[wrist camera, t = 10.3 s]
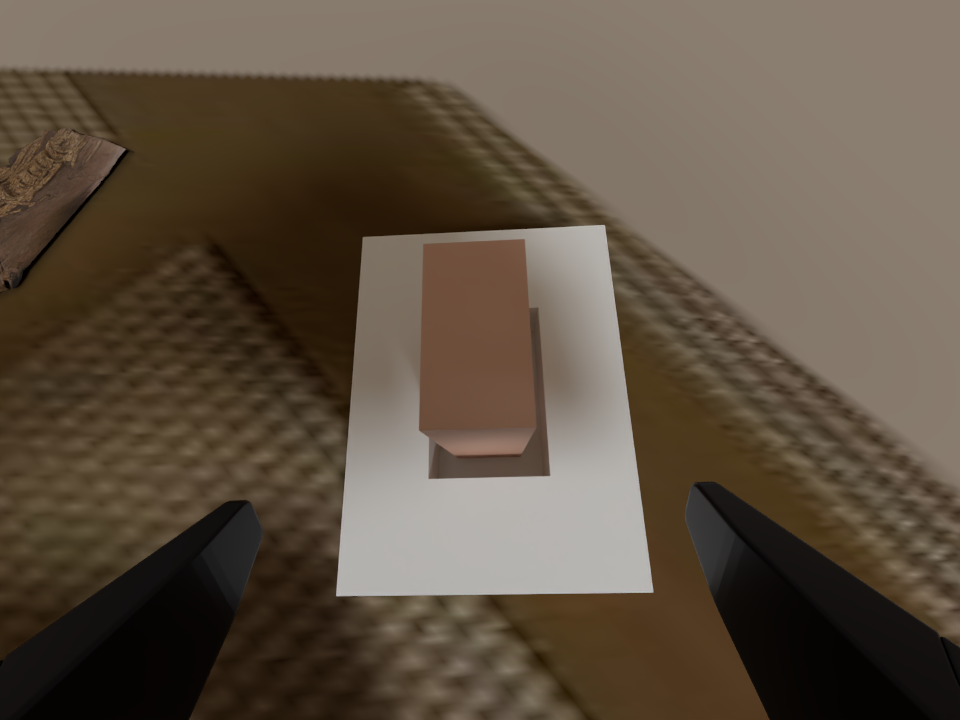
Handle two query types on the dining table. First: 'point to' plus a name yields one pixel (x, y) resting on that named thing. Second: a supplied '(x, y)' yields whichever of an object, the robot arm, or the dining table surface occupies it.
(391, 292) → the white slotted block
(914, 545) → the dining table surface
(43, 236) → the wooden fragment
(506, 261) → the pink rectangular block
